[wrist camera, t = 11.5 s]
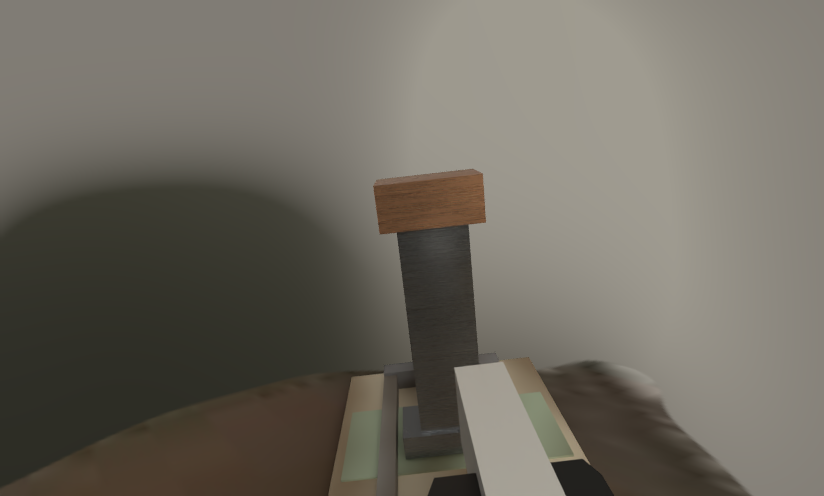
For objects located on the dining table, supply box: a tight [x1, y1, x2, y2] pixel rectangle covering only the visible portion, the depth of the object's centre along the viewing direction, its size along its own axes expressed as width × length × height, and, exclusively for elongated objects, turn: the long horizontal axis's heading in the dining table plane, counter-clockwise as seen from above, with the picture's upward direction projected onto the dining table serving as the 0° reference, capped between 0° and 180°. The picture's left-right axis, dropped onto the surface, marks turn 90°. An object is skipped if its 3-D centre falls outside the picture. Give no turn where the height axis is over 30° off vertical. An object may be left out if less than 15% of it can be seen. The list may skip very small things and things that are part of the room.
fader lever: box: [373, 169, 486, 459], centre depth 20 cm, size 5×2×13 cm, turn 92°
